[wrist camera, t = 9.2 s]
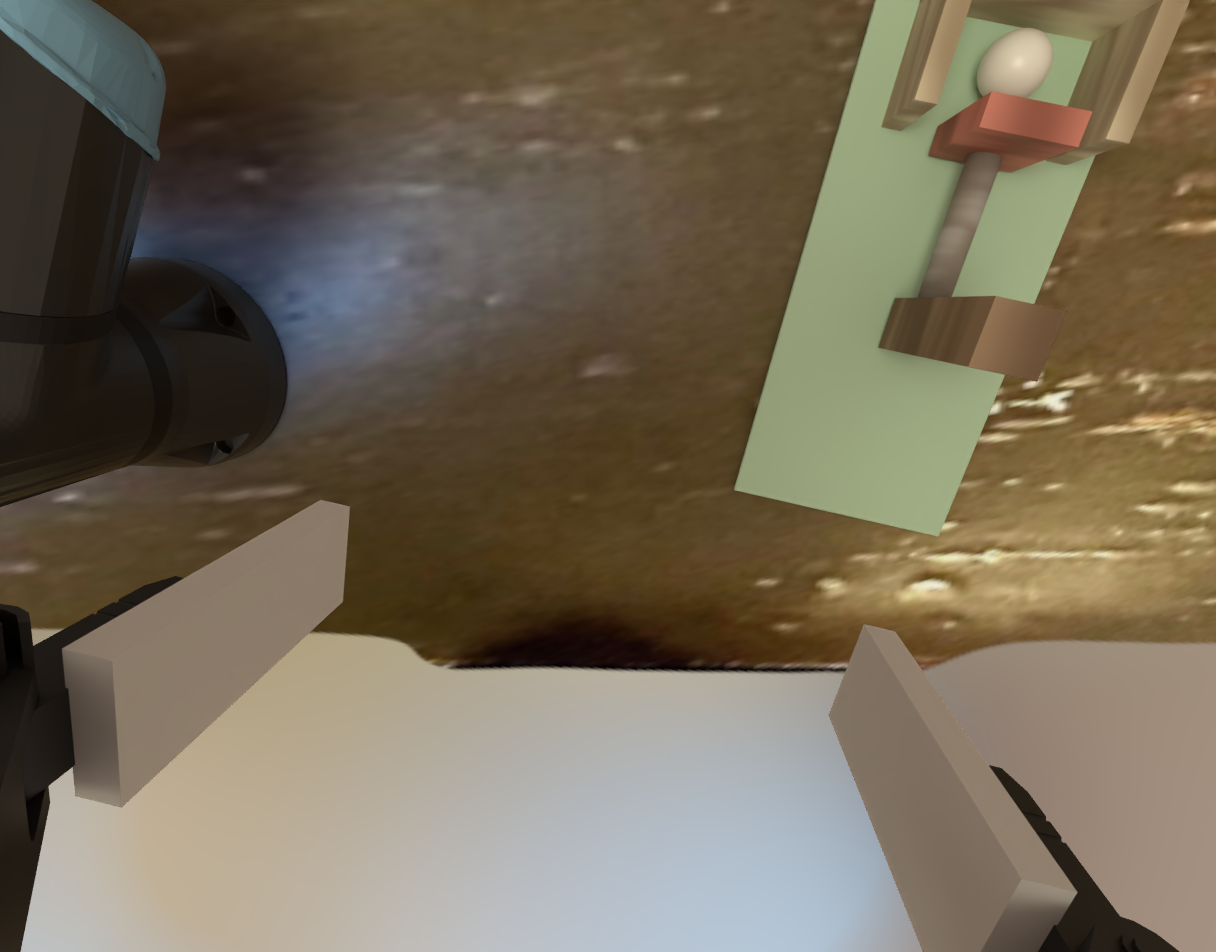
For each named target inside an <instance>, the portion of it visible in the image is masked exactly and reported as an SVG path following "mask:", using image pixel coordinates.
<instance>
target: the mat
mask: <svg viewBox="0 0 1216 952" xmlns="http://www.w3.org/2000/svg"><path fill="white" fill-rule="evenodd" d="M919 2H920V0H875V2H874V5H873V9H872V12H871V15H870V19H869V22H868V26H867V29H866V33H865V36H864V40H863V43H862V47H861V50H860V54H859V57H858V60H857V64H856V67H855V71H854V74H853V78H852V81H851V85H850V88H849V92H848V95H847V99H846V102H845V105H844V109H843V112H842V116H841V119H840V123H839V126H838V130H837V133H836V137H835V140H834V144H833V147H832V150H831V154H830V157H829V161H828V164H827V168H826V171H825V175H824V178H823V182H822V185H821V188H820V192H819V195H818V199H817V202H816V206H815V209H814V213H813V216H812V220H811V223H810V227H809V230H808V233H807V237H806V240H805V244H804V247H803V251H802V254H801V258H800V261H799V265H798V268H797V272H796V275H795V278H794V282H793V285H792V289H791V292H790V296H789V299H788V303H787V306H786V310H785V313H784V317H783V320H782V323H781V327H780V330H779V334H778V337H777V341H776V344H775V348H774V351H773V355H772V358H771V361H770V365H769V368H768V372H767V375H766V379H765V382H764V386H763V389H762V393H761V396H760V400H759V403H758V406H757V410H756V413H755V417H754V420H753V424H752V427H751V431H750V434H749V438H748V441H747V445H746V448H745V451H744V455H743V458H742V462H741V465H740V469H739V472H738V476H737V479H736V483H735V486H734V490H736V491H741V492H745V493H750V494H754V495H758V496H763V497H767V498H772V499H776V500H780V501H785V502H789V503H793V504H798V505H802V506H807V507H811V508H815V509H820V510H824V511H829V512H833V513H837V514H842V515H846V516H851V517H855V518H859V519H864V520H868V521H873V522H877V523H881V524H886V525H890V526H894V527H899V528H903V529H908V530H912V531H916V532H921V533H925V534H930V535H934V536H939V533H940V531H941V529H942V526H943V524H944V521H945V519H946V516H947V514H948V512H949V509H950V507H951V504H952V502H953V499H954V497H955V495H956V492H957V490H958V487H959V485H960V483H961V480H962V478H963V475H964V473H965V470H966V468H967V466H968V463H969V461H970V458H971V456H972V453H973V451H974V449H975V446H976V444H977V441H978V439H979V436H980V434H981V432H982V429H983V427H984V424H985V422H986V419H987V417H988V415H989V412H990V410H991V407H992V405H993V402H994V400H995V398H996V395H997V393H998V390H999V388H1000V385H1001V383H1002V381H1003V378H1004V376H1005V375H1003V374H999V373H994V372H989V371H984V370H980V369H975V368H970V367H966V366H961V365H956V364H951V363H947V362H942V361H937V360H932V359H928V358H923V357H919V356H914V355H909V354H905V353H900V352H896V351H891V350H886V349H882V348H878V347H879V344H880V341H881V338H882V335H883V333H884V330H885V327H886V324H887V321H888V318H889V315H890V312H891V309H892V306H893V303H894V300H895V298H917V297H918V294H919V292H920V289H921V286H922V283H923V280H924V277H925V275H926V272H927V269H928V266H929V263H930V260H931V258H932V255H933V252H934V249H935V246H936V243H937V241H938V238H939V235H940V232H941V229H942V226H943V224H944V221H945V218H946V215H947V212H948V209H949V207H950V204H951V201H952V198H953V195H954V192H955V190H956V187H957V184H958V181H959V178H960V175H961V173H962V170H963V167H964V164H965V163H961V162H957V161H952V160H947V159H942V158H937V157H933V156H928V154H929V151H930V148H931V145H932V142H933V140H934V137H935V134H936V131H937V128H938V126H939V125H940V124H942V123H943V122H945V121H947V120H948V119H950V118H951V117H953V116H954V115H956V114H957V113H959V112H960V111H962V110H963V109H965V108H967V107H968V106H970V105H971V104H973V103H974V102H976V101H977V100H979V99H980V98H982V97H983V96H982V95H981V93H980V92H979V90H978V86H977V71H978V67H979V64H980V62H981V59H982V58H983V56H984V54H985V53H986V51H987V50H988V49H989V48H990V46H991V45H992V44H993V43H994V42H995V41H996V40H998V39H999V38H1000V37H1002V36H1003V35H1005V34H1007V33H1009V32H1011V31H1013V30H1016V29H1020V27H1015V26H1010V25H1005V24H1000V23H995V22H990V21H985V20H980V19H975V18H970V17H966V19H965V22H964V25H963V28H962V31H961V34H960V37H959V40H958V44H957V47H956V50H955V53H954V56H953V59H952V62H951V65H950V68H949V71H948V74H947V77H946V80H945V83H944V86H943V89H942V92H941V95H940V98H939V101H938V104H937V105H936V106H934V107H933V108H932V109H930V110H929V111H927V112H926V113H925V114H923V115H922V116H921V117H919V118H918V119H917V120H915V121H914V122H912V123H911V124H910V125H908V126H907V127H906V128H904V129H903V130H902V131H898V130H893V129H888V128H883V127H881V126H882V122H883V119H884V116H885V113H886V109H887V106H888V103H889V100H890V96H891V93H892V90H893V87H894V83H895V80H896V77H897V74H898V70H899V67H900V64H901V61H902V58H903V54H904V51H905V48H906V45H907V41H908V38H909V35H910V32H911V28H912V25H913V22H914V19H915V15H916V12H917V9H918V6H919ZM1043 33H1045V32H1043ZM1045 34H1046V35H1047V36H1048V38H1049V39H1050V41H1051V43H1052V46H1053V61H1052V65H1051V68H1050V71H1049V73H1048V75H1047V77H1046V78H1045V80H1044V81H1043V82H1042V84H1041V85H1040V86H1039V87H1038V88H1037V89H1036V90H1035V91H1034V92H1033V93H1032V94H1030V95H1029V96H1027V97H1026V98H1028V99H1033V100H1038V101H1043V102H1048V103H1053V104H1058V105H1063V106H1068V103H1069V101H1070V98H1071V96H1072V93H1073V90H1074V88H1075V85H1076V83H1077V80H1078V78H1079V75H1080V72H1081V70H1082V67H1083V65H1084V62H1085V60H1086V57H1087V55H1088V52H1089V49H1090V47H1091V44H1092V42H1090V41H1085V40H1080V39H1075V38H1070V37H1065V36H1060V35H1055V34H1050V33H1045ZM1094 157H1095V155H1094V156H1091V157H1088V158H1086V159H1083V160H1080V161H1077V162H1074V163H1071V164H1068V165H1062V164H1057V163H1052V162H1048V161H1046V160H1047V159H1046V160H1043V161H1040V162H1038V163H1035V164H1033V165H1030V166H1027V167H1025V168H1022V169H1019V170H1017V171H1014V172H1011V173H1010V172H1005V171H1000V170H998V173H997V176H996V178H995V181H994V184H993V186H992V189H991V192H990V194H989V197H988V200H987V203H986V205H985V208H984V211H983V213H982V216H981V219H980V222H979V224H978V227H977V230H976V232H975V235H974V238H973V240H972V243H971V246H970V249H969V251H968V254H967V257H966V259H965V262H964V265H963V268H962V270H961V273H960V276H959V278H958V281H957V284H956V286H955V289H954V292H953V295H952V297H968V296H999V297H1003V298H1008V299H1013V300H1017V301H1022V302H1027V303H1031V304H1034V303H1035V301H1036V298H1037V296H1038V293H1039V291H1040V288H1041V286H1042V284H1043V281H1044V279H1045V276H1046V274H1047V271H1048V269H1049V267H1050V264H1051V262H1052V259H1053V257H1054V254H1055V252H1056V250H1057V247H1058V245H1059V242H1060V240H1061V237H1062V235H1063V233H1064V230H1065V228H1066V225H1067V223H1068V220H1069V218H1070V216H1071V213H1072V211H1073V208H1074V206H1075V203H1076V201H1077V199H1078V196H1079V194H1080V191H1081V189H1082V186H1083V184H1084V182H1085V179H1086V177H1087V174H1088V172H1089V169H1090V167H1091V165H1092V162H1093V160H1094Z"/></svg>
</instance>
